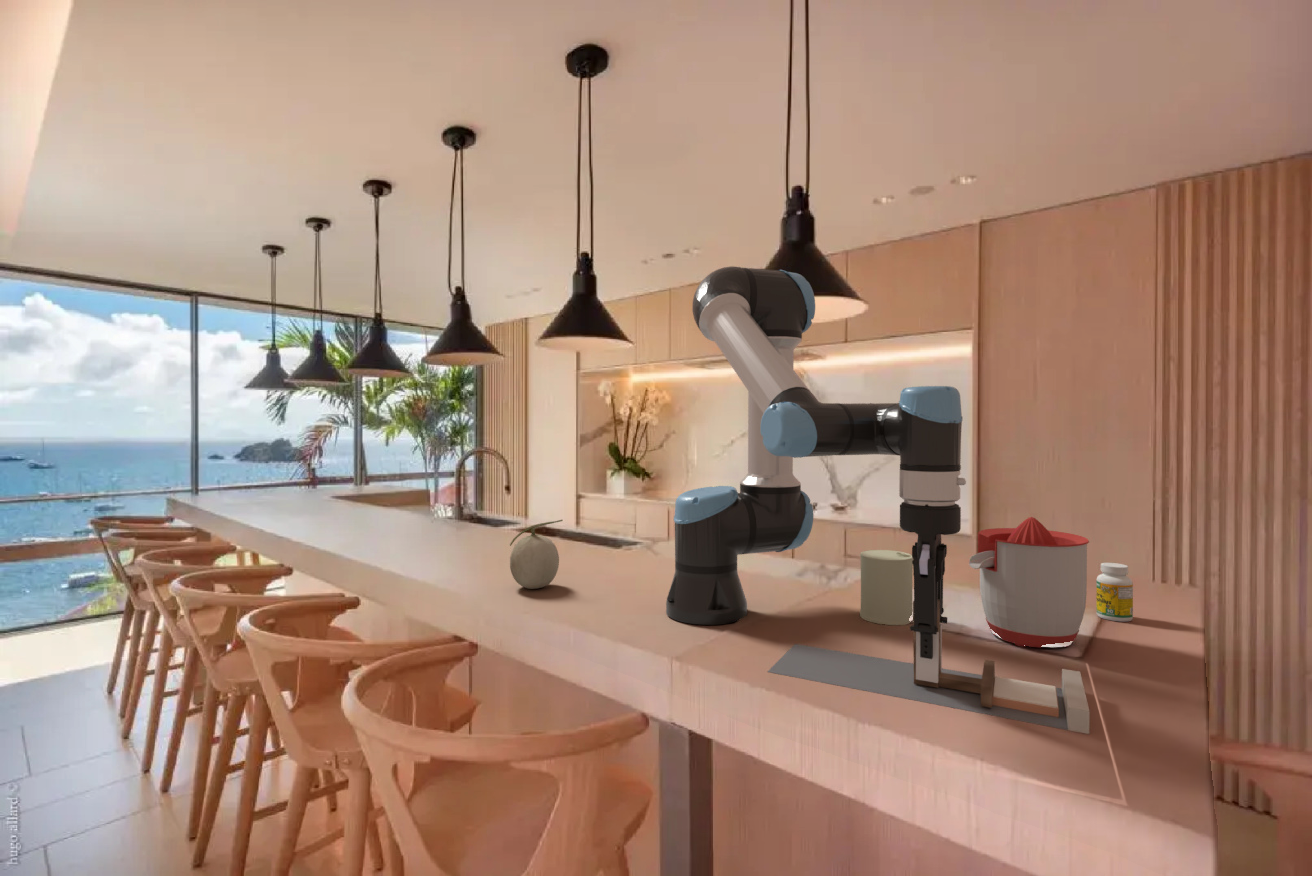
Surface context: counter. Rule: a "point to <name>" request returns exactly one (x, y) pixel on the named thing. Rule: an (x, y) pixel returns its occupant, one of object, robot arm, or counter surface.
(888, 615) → the can
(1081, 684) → the grey board
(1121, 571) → the supplement bottle
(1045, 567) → the citrus juicer
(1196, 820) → the counter surface
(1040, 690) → the tile
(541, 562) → the fruit
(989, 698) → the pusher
